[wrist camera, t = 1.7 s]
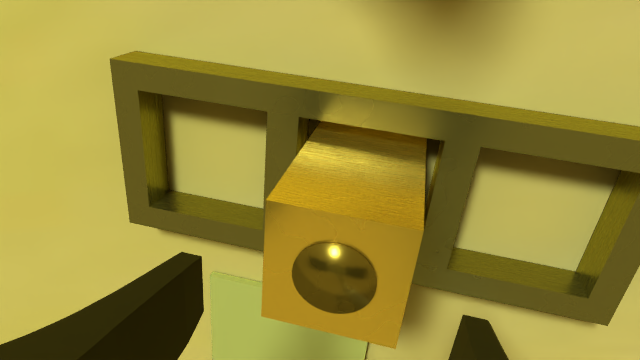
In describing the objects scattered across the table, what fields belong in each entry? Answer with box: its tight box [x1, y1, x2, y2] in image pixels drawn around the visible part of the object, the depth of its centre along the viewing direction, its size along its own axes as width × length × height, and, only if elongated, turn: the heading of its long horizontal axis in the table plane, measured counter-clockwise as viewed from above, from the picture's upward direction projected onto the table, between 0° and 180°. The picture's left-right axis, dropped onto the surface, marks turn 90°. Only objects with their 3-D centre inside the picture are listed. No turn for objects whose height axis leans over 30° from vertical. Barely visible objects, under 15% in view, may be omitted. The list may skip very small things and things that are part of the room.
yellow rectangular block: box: [261, 121, 426, 349], centre depth 17 cm, size 4×4×8 cm
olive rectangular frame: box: [110, 51, 640, 326], centre depth 19 cm, size 22×8×2 cm, turn 85°
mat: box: [210, 271, 368, 360], centre depth 26 cm, size 9×9×1 cm
